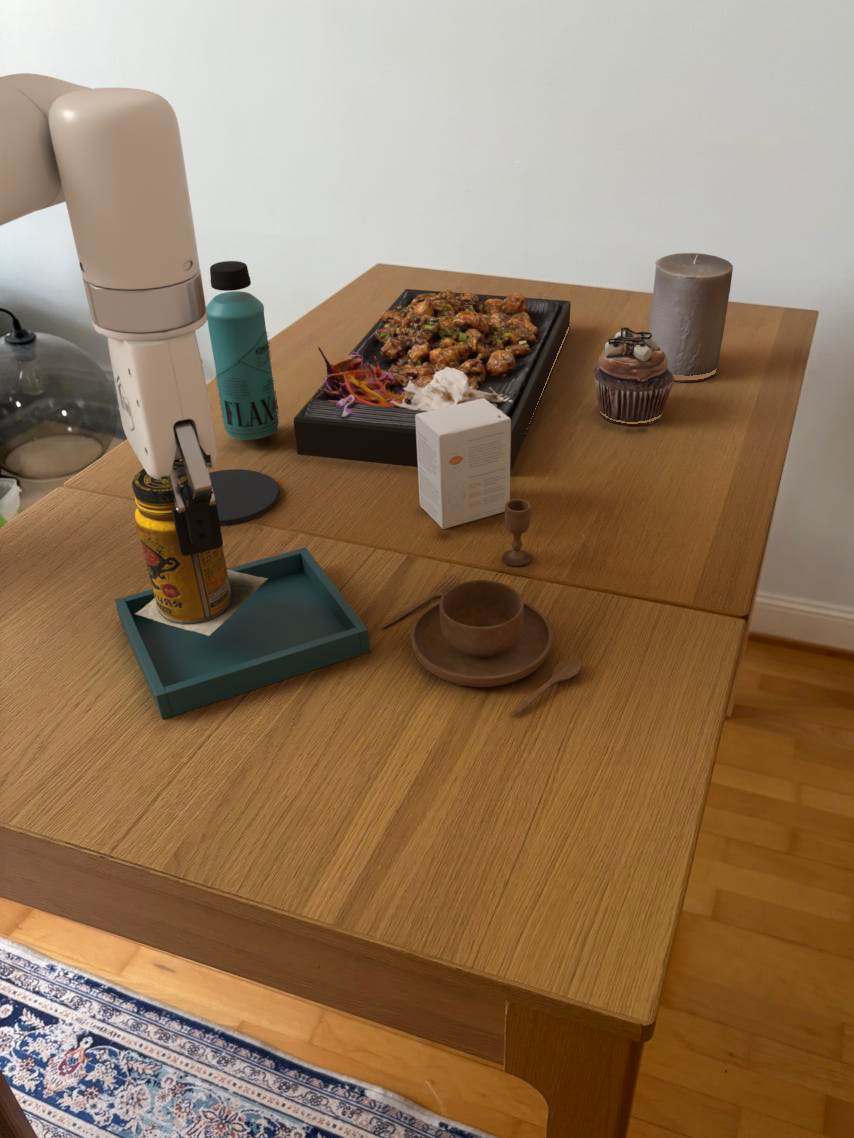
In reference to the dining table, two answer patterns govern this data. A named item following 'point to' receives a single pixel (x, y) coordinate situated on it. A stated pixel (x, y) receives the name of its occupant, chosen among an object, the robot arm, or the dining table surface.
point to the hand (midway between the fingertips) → (189, 527)
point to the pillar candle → (690, 311)
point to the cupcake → (632, 378)
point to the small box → (463, 462)
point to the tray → (247, 637)
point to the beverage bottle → (241, 355)
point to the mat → (242, 494)
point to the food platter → (433, 372)
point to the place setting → (487, 627)
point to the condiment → (183, 566)
